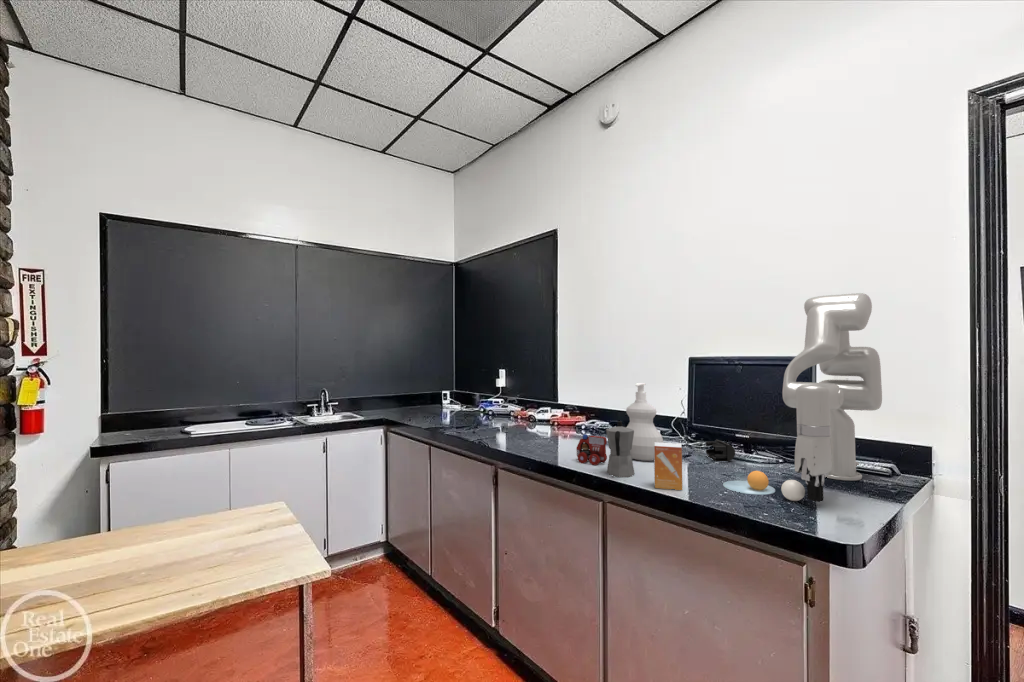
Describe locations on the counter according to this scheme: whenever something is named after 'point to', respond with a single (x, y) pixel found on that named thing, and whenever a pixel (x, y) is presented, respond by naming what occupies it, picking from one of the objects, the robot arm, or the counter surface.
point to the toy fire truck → (592, 449)
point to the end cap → (720, 451)
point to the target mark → (747, 488)
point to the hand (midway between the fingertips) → (815, 500)
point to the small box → (668, 465)
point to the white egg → (793, 490)
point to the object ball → (757, 480)
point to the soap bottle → (642, 427)
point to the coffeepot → (620, 451)
